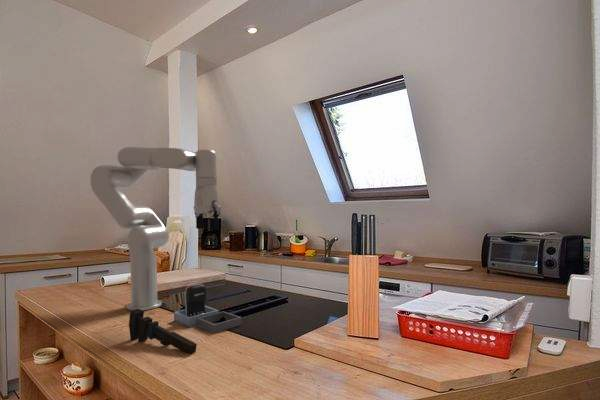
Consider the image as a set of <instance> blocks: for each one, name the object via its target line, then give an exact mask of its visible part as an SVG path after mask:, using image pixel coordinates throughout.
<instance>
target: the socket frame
mask: <svg viewBox="0 0 600 400" xmlns="http://www.w3.org/2000/svg"><path fill="white" fill-rule="evenodd" d="M222 317H224V318H225V321H222V322H219V321H221V320H220V319H221V318H222ZM242 318H243V317H242V316H238V315H236V314H234V313H230V312H228V311H227V312H226V311H219V313H215V314H211V315H208V316H204V317H200V318H197V325H196V326H197V327H198V328H201V329H203V330H206V331H208V332H211V333H212V334H217V333H220V332H222V331H227V330H230V329H233V328H236V327H240V326H242V325H243V323H242ZM216 322H217V323H216Z"/></svg>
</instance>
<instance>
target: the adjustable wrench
mask: <svg viewBox="0 0 600 400" xmlns="http://www.w3.org/2000/svg"><path fill="white" fill-rule="evenodd" d="M129 311H130V313H129V319H128V329H129V336H130V341H136V340H138V341H137V342H139V343H142V342H144V341H146V340H150V341H151V340H154V339H155V340H157V341H159V343H160V345H162V346H164V347H168V346H171V347H173V348H176V349H177V350H179V351H181V352H183V353H184V354H186V355H192V354H194V353H196V351H197V346H198V345H197V343H196V342H194V341H192V340H190V339H188V338H186V337H184V336H182V335H180V334H179V333H176V332H175V331H170V330H167V329H166V328H164V327H162V326H160V325H159V323H160V322H159V321H157V320H155V321H153V318H152V317H150V316H145V317H144V314H145V310H140V309H135V310H129Z"/></svg>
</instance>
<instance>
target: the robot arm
mask: <svg viewBox="0 0 600 400" xmlns="http://www.w3.org/2000/svg"><path fill="white" fill-rule="evenodd" d="M116 157H117V161H118V163H119V164H120V166H117V165H111V164H102V165H98V166H96V167H94V168H93V170H92V171H91V174H90V182H89V183H90V187H91V190H92V192H93V194H94V195H95V196H96V198H98V200H99V201H100V203H102V204H103V206H104V207H105V208H106V210H107V211H108V213H109V214H110V215H111V217H112V218H113V219H114V221H115V222H116V223H117V225H118V226H119V227H120V228H122V229H124V230H129V232H128V234H127V237H126V239H127V240H126V242H127V248H128V252H129V260H130V261H129V262H130V263H129V266H130V267H129V268H130V300H131V301H130V302H129V303H127V305H126V310H128V311H132V310H135V309H140V310H142V311H148V310H152V309H156V308H159V307H161V306H162V304H163V303H162V301H161V300H160V299H158V262H157V256H156V253H155V251H154V249H157V248H161V247H164V246H165V245H166V244H167V243H168V241H169V237H170V236H169V231H168V229H167V227H166V225H164V223H163V222H162V221H161V219H160V218H159V217H158V216H157V214H156V213H155V212H154V211H153V209H152V208H150V207H148V206H147V205H143V204H133V203H132V202H131V201H130V200H129V199H128V198H127V195H125V193H124V192H122V191H121V190H119V189H118V187H119V188H128V187H130V186H132V185H134V184H135V183H136V182H137V181H138V180H139V179H140V178H141V177H143V175H144V174H145V173H146V172H148V171H149V170H150V171H151V170H153V171H156V170H158V169H171V170H172V169H174V170H182V171H188V172H195V191H194V201H193V204H194V205H193V209H194V210H193V211H194V216H195V221H196V222H195V225H196V226H195V228H196V229H197V230H200V229H205V218H204V217H205V214H209V217H210V218H209V230H211V231H213V230H219V228H220V227H219V218H220V215H221V209H222V206H221V205H220V204H219V197H218V196H219V195H218V185H217V184H218V183H217V178H218V177H217V153H216V152H215V150H213V149H198V150H197V151H191V150H188V149H183V148H179V147H178V148H176V147H141V146H126V147H123V148H121V149H120V150H119V151H118V152H117V156H116Z"/></svg>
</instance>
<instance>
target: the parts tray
mask: <svg viewBox="0 0 600 400" xmlns="http://www.w3.org/2000/svg"><path fill="white" fill-rule="evenodd" d="M205 312H206V313H204V314H200V315H196V316H192V317H188V316H186V309H181V310H176V311H174V312H173V321H174V322H176V323H178V324H179V325H183V326H185V327H187V328H192V327H195V326H197V318H200V317H204V316H208V315H211V314H215V313H219V312H220V310H218V309H215V308H213V307H210V306H207V305H205Z"/></svg>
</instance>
